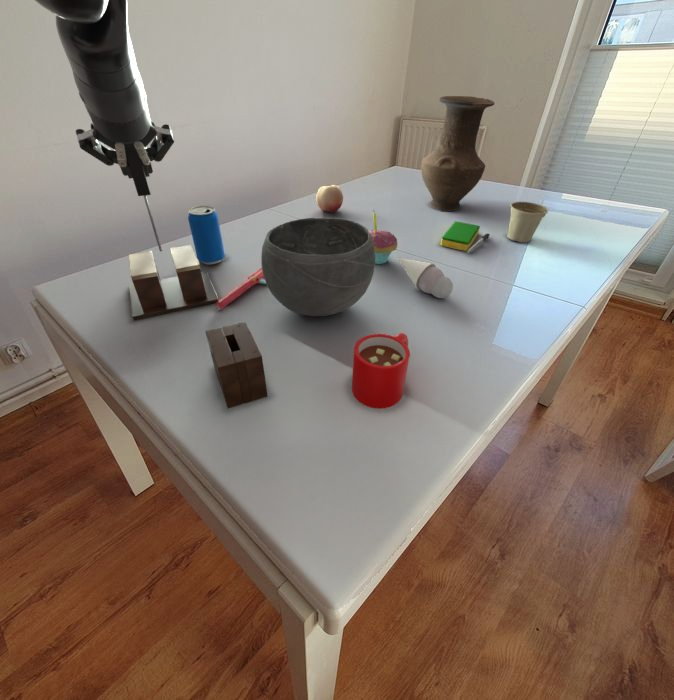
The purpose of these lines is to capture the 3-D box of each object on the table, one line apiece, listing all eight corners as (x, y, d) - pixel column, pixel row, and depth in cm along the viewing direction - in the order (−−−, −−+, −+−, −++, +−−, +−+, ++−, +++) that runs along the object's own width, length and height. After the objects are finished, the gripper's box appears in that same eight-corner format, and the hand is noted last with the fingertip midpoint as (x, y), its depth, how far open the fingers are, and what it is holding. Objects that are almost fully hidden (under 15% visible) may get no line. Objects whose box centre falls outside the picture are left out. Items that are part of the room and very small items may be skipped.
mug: (422, 370, 62) (430, 331, 57) (387, 416, 54) (394, 376, 49) (379, 352, 65) (384, 314, 60) (341, 394, 57) (343, 354, 52)
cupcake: (357, 264, 91) (360, 215, 83) (364, 250, 97) (367, 203, 90) (393, 269, 89) (399, 219, 82) (397, 254, 96) (403, 206, 88)
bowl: (380, 288, 82) (387, 220, 73) (356, 345, 67) (361, 268, 57) (290, 274, 87) (286, 208, 77) (248, 324, 71) (236, 249, 62)
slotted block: (133, 321, 71) (118, 282, 66) (130, 289, 80) (117, 253, 75) (219, 303, 77) (211, 266, 71) (207, 275, 86) (199, 240, 80)
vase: (452, 220, 115) (477, 104, 96) (403, 204, 126) (417, 97, 107) (485, 207, 126) (514, 99, 107) (438, 193, 136) (456, 93, 118)
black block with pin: (155, 252, 70) (124, 151, 60) (154, 246, 72) (123, 147, 62) (166, 250, 71) (138, 150, 60) (165, 244, 73) (137, 146, 62)
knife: (467, 258, 95) (469, 250, 94) (464, 257, 95) (466, 249, 94) (488, 240, 104) (490, 233, 103) (485, 239, 105) (487, 232, 103)
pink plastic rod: (292, 266, 91) (275, 257, 92) (294, 259, 90) (277, 250, 90) (230, 316, 74) (210, 305, 75) (231, 309, 73) (211, 296, 73)
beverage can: (226, 264, 90) (216, 213, 82) (197, 267, 89) (185, 215, 81) (225, 252, 95) (216, 204, 87) (198, 255, 93) (186, 206, 86)
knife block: (227, 409, 55) (217, 367, 50) (215, 370, 61) (205, 330, 56) (267, 396, 57) (262, 355, 52) (251, 360, 63) (245, 321, 58)
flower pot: (515, 229, 111) (525, 199, 105) (544, 240, 105) (556, 209, 99) (494, 236, 107) (503, 204, 101) (523, 248, 100) (534, 215, 95)
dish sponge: (478, 233, 108) (480, 225, 106) (466, 251, 98) (469, 242, 96) (453, 228, 110) (455, 220, 109) (439, 245, 101) (441, 237, 99)
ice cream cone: (393, 272, 88) (444, 308, 81) (383, 264, 83) (436, 301, 76) (409, 250, 86) (462, 284, 80) (400, 240, 81) (456, 276, 74)
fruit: (332, 205, 124) (333, 179, 119) (347, 212, 119) (348, 186, 114) (312, 209, 121) (311, 183, 116) (325, 217, 115) (325, 190, 110)
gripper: (162, 67, 51) (174, 149, 68) (43, 68, 47) (87, 155, 63) (177, 118, 51) (185, 188, 67) (59, 124, 46) (98, 198, 63)
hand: (137, 172), depth 65 cm, fingers closed on black block with pin, 2 cm apart
